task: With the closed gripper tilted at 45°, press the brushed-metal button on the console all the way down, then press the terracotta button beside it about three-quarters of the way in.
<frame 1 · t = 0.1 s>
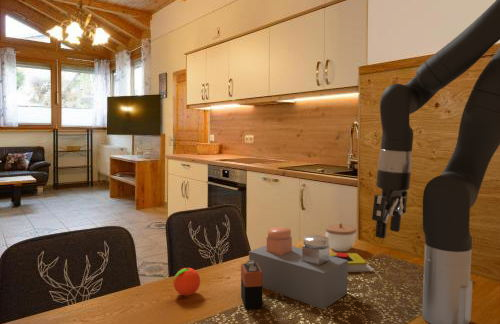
hand: (387, 234, 92), 17 cm above the table, tool pointing down, fingers open, 8 cm apart
lidded jar: (340, 249, 137), on the table
metal button: (315, 255, 97), point 10 cm above the table, slide at 0.0 cm
battery: (251, 303, 93), on the table
emergency button: (345, 268, 119), on the table
terracotta button: (279, 245, 105), point 11 cm above the table, slide at 0.0 cm
console: (296, 287, 102), on the table
clementine: (185, 295, 98), on the table
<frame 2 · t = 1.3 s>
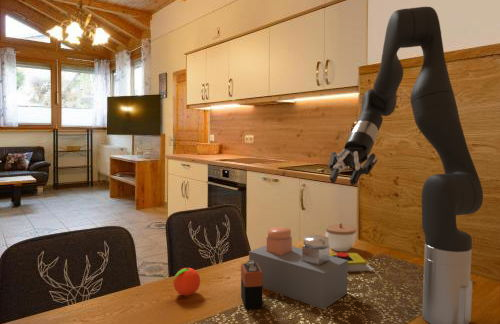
hand: (341, 182, 106), 28 cm above the table, tool tilted 45°, fingers open, 5 cm apart
nothing on the table moved.
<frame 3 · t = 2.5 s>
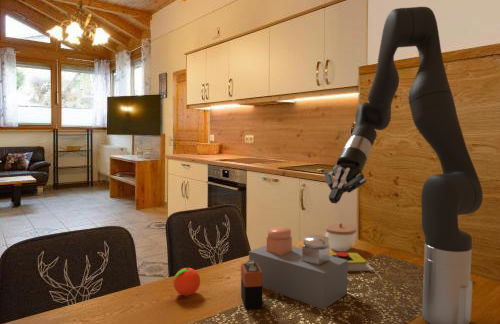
hand: (332, 201, 102), 23 cm above the table, tool tilted 45°, fingers closed
nothing on the table moved.
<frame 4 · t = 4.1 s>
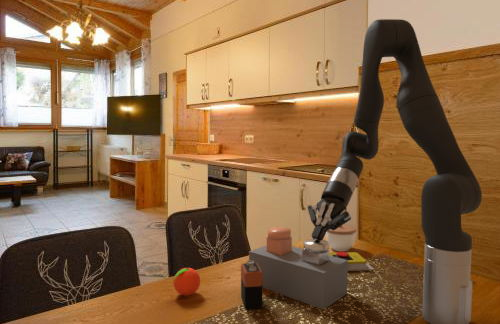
hand: (315, 240, 97), 15 cm above the table, tool tilted 45°, fingers closed
metal button: (315, 259, 98), point 9 cm above the table, slide at 1.1 cm, touching gripper
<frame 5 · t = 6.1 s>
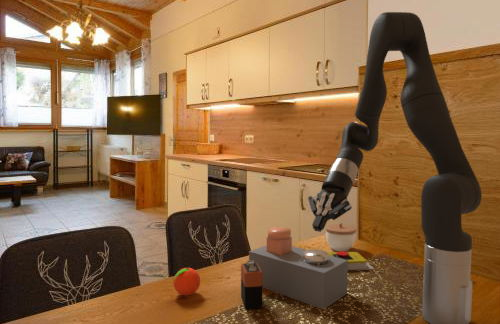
hand: (316, 229, 97), 17 cm above the table, tool tilted 45°, fingers closed
metal button: (315, 270, 98), point 6 cm above the table, slide at 4.0 cm, touching console
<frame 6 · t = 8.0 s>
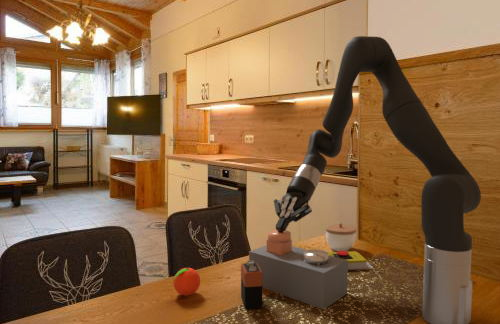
hand: (279, 230, 105), 15 cm above the table, tool tilted 45°, fingers closed
terracotta button: (279, 248, 106), point 10 cm above the table, slide at 0.8 cm, touching gripper
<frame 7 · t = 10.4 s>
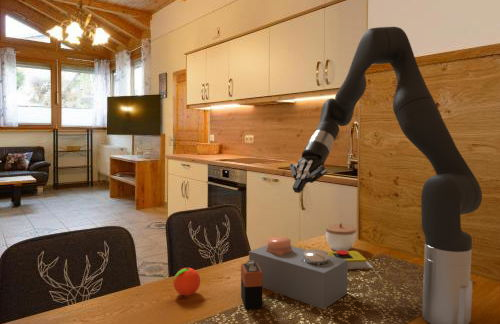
hand: (296, 191, 110), 25 cm above the table, tool tilted 45°, fingers closed
terracotta button: (279, 255, 106), point 8 cm above the table, slide at 2.8 cm
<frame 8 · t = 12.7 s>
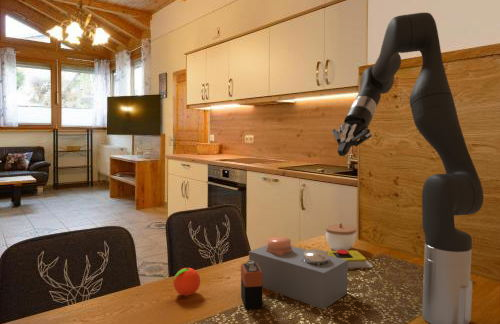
hand: (341, 154, 111), 36 cm above the table, tool tilted 45°, fingers closed
at the end: metal button slide at 4.0 cm; terracotta button slide at 2.8 cm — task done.
